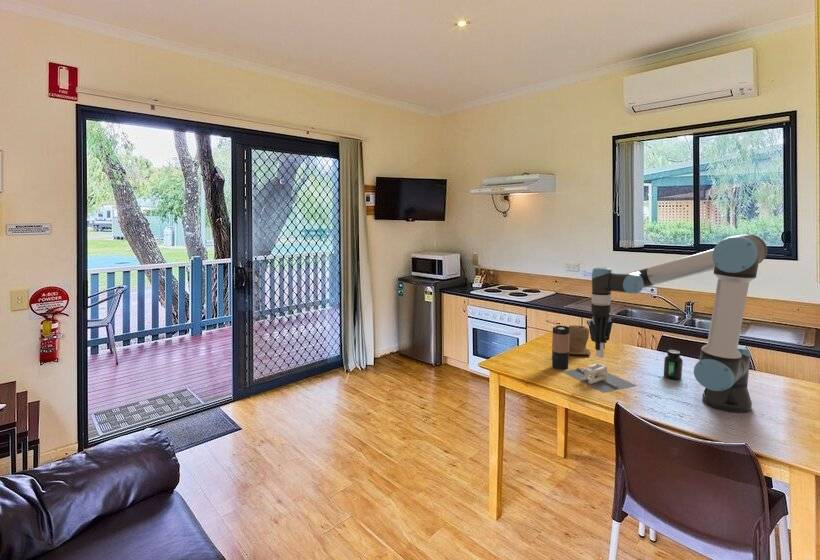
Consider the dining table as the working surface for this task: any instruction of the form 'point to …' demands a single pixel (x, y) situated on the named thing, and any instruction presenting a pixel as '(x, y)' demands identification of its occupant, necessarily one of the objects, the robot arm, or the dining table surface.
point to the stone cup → (578, 340)
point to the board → (603, 385)
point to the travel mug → (560, 347)
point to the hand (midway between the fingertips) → (599, 356)
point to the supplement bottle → (673, 365)
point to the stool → (595, 373)
